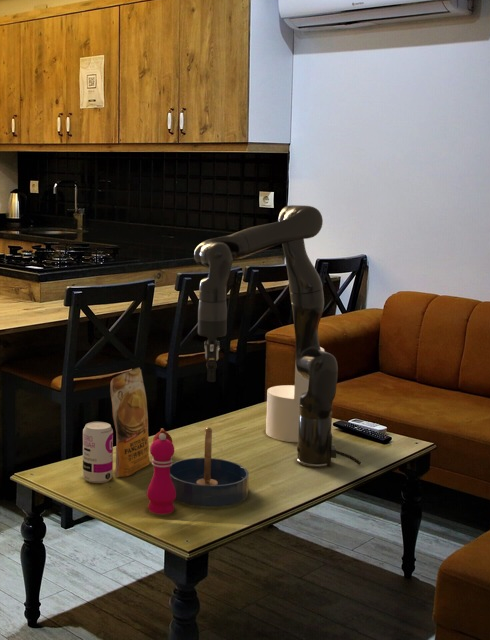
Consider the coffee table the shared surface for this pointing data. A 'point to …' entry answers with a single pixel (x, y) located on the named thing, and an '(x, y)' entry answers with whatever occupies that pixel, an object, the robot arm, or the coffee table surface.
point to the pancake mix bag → (130, 422)
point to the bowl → (223, 494)
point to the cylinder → (285, 409)
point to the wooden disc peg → (207, 460)
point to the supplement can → (97, 452)
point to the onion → (164, 433)
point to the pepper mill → (161, 477)
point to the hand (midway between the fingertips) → (211, 377)
